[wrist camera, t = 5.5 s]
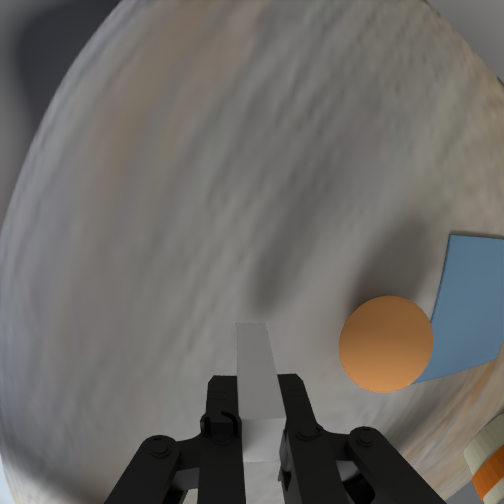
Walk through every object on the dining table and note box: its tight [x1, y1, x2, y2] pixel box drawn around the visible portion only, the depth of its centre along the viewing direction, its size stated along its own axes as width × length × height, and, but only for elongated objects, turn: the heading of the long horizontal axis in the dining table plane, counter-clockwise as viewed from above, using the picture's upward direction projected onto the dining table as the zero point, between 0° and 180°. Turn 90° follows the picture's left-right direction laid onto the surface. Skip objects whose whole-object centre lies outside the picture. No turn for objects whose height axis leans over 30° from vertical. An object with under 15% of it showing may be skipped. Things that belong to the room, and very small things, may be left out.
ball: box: [339, 296, 433, 393], centre depth 14 cm, size 6×6×6 cm
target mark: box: [410, 234, 504, 385], centre depth 18 cm, size 12×12×1 cm
